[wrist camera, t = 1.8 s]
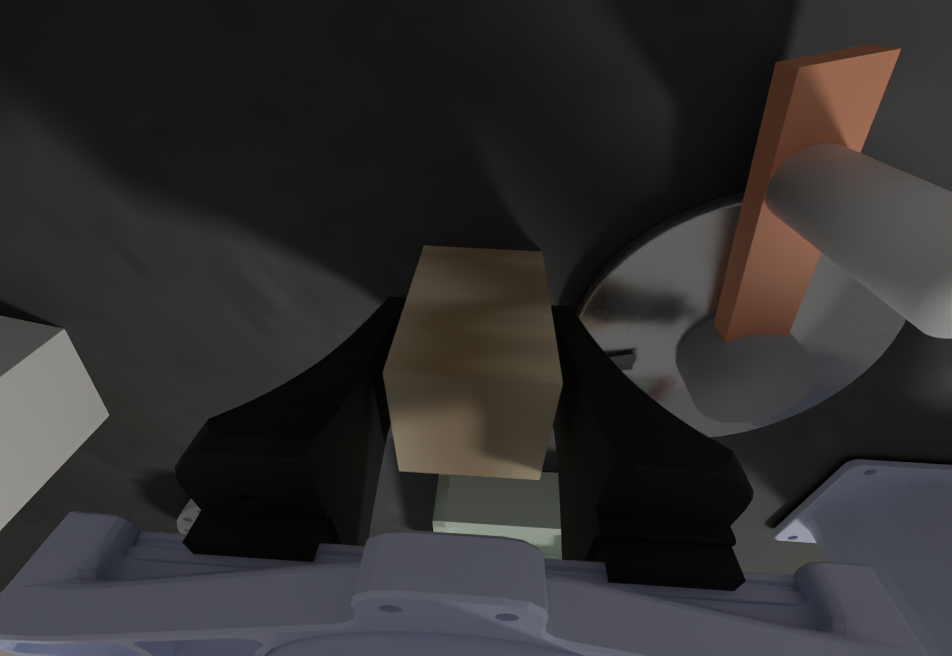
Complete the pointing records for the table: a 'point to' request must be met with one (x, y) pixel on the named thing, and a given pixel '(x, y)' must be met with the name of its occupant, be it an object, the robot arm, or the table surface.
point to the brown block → (474, 365)
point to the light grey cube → (40, 408)
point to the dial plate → (696, 301)
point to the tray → (501, 509)
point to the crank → (816, 236)
